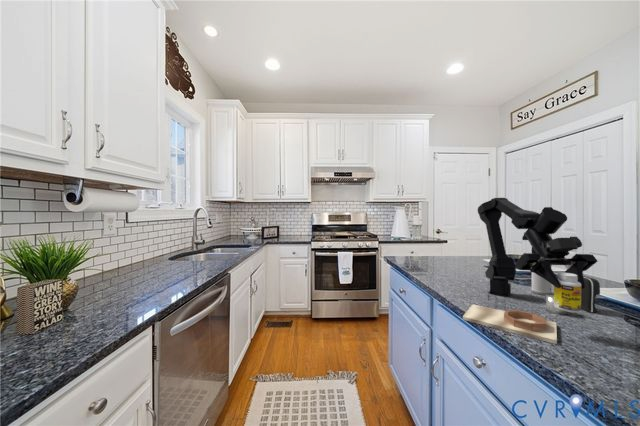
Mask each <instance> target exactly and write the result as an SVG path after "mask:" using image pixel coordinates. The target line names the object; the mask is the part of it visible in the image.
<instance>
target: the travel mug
mask: <svg viewBox="0 0 640 426" xmlns="http://www.w3.org/2000/svg"><path fill="white" fill-rule="evenodd" d="M532 249H533V247H532V246H531V250H532ZM531 293H533V294H535V295H539V296H544V297H546V295H552V284H551V283H550V282H548V281H547V280H545V279H544V278H542V277H540V276H539V275H537V274H535V273H534V272H531Z"/></svg>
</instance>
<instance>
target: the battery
mask: <svg viewBox="0 0 640 426" xmlns="http://www.w3.org/2000/svg"><path fill="white" fill-rule="evenodd" d="M583 278H584V284H585V288H584V289H581V310H583V311H585V312H589V313H597V312H598V309H597V308H596V306H595V305H596V304H595V303H596V297H597V296H599V295H600V296H601V286H600V282H599V280H597V279H595V278H594V277H593V278H592V277H588V276H586V275H585V276H584V275H583Z"/></svg>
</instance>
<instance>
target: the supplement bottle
mask: <svg viewBox="0 0 640 426" xmlns="http://www.w3.org/2000/svg"><path fill="white" fill-rule="evenodd" d="M557 279H558V281H559V282H560V285H561V287H560V288H557V287H555V286H554V285H553V295H554V306H555V307H556V308H557V309H560V310H563V311H566V312H568V313H573V314H574V313H581V311H582V309H581V283H580V282H578V276H577V275H576V274H572V273H565V272H561V271H560V272H558V273H557Z"/></svg>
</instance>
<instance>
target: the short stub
mask: <svg viewBox="0 0 640 426" xmlns="http://www.w3.org/2000/svg"><path fill="white" fill-rule="evenodd" d="M545 312H548V313H550V314H553V315H560V316H564V315H566V312H567V311H563V310H560V309H557V308H556V307H555V306H554V294H551V295H546V296H545Z"/></svg>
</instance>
